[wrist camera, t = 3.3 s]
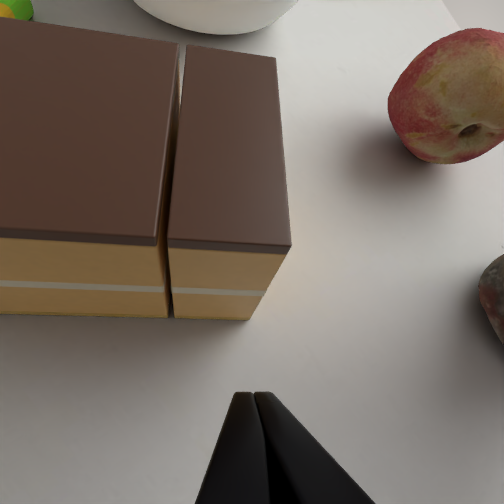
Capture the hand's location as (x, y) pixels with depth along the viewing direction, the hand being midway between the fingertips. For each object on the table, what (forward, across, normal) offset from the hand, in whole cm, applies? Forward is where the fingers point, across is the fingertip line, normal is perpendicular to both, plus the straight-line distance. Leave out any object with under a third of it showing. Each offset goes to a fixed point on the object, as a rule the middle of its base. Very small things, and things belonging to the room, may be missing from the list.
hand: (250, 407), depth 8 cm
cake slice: (+14, 0, -2) cm, 14 cm away
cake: (+12, +7, 0) cm, 14 cm away
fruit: (+19, -14, -6) cm, 25 cm away
